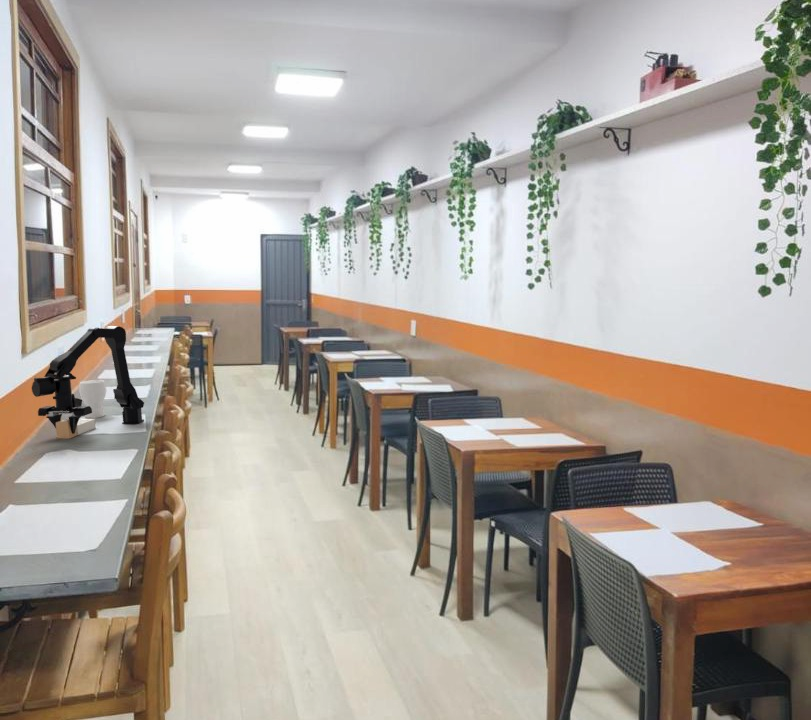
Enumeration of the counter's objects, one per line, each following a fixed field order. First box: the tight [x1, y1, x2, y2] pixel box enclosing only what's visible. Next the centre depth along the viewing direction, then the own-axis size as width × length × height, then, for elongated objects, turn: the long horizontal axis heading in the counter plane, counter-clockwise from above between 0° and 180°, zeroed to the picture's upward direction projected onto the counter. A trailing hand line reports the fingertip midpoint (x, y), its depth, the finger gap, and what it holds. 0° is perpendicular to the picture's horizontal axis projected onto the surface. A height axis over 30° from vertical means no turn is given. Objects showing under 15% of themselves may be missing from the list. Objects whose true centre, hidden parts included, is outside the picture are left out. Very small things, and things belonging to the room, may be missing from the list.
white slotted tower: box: [76, 418, 97, 436], centre depth 289 cm, size 5×12×4 cm, turn 171°
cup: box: [78, 379, 107, 419], centre depth 317 cm, size 11×11×15 cm
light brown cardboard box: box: [55, 418, 78, 439], centre depth 280 cm, size 5×5×6 cm
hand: (66, 433), depth 280 cm, fingers closed on light brown cardboard box, 5 cm apart
